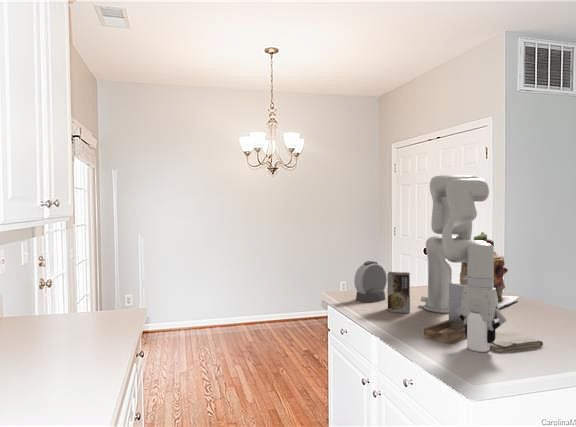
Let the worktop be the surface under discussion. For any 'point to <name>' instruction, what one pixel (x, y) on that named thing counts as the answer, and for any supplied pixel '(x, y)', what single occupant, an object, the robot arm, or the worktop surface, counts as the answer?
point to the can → (477, 333)
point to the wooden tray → (444, 333)
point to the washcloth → (513, 342)
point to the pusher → (455, 306)
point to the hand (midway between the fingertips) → (479, 338)
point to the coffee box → (398, 292)
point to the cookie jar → (498, 274)
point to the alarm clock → (370, 282)
